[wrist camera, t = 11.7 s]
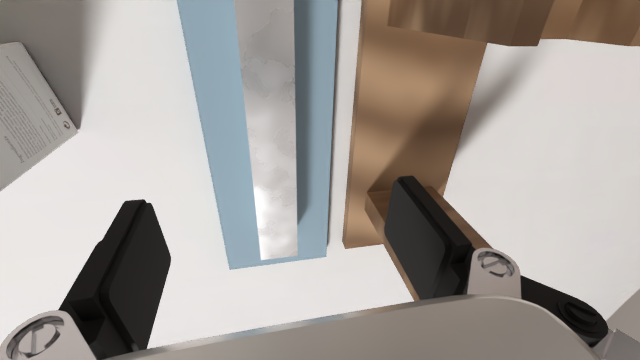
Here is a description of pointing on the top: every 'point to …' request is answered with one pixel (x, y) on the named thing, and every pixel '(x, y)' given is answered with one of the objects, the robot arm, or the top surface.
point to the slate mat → (231, 127)
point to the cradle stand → (441, 90)
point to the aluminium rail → (270, 118)
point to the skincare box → (27, 115)
